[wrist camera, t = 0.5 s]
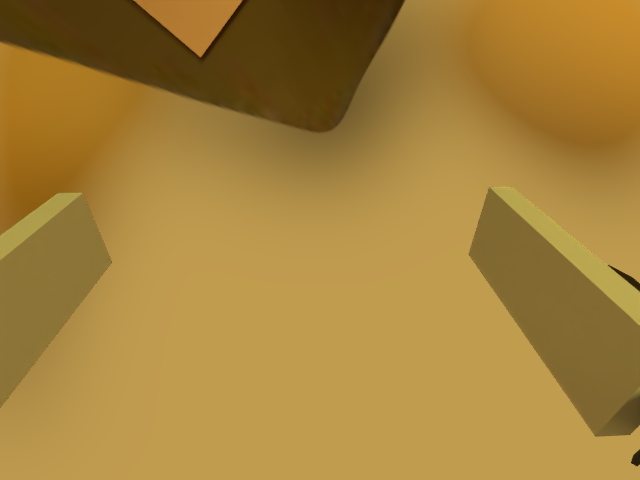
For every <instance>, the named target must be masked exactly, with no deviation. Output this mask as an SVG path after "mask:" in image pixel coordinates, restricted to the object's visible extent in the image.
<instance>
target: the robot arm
mask: <svg viewBox="0 0 640 480" xmlns="http://www.w3.org/2000/svg"><path fill="white" fill-rule="evenodd" d="M469 256H470V257H471V258H472V260H473V261H474V263H475V264H476V266H477V267H478V269H479V270H480V271H481V273H482V274H483V276H484V277H485V279H486V280H487V281H488V283H489V284H490V286H491V287H492V288H493V290H494V292H495V293H496V294H497V296H498V297H499V298H500V300H501V301H502V303H503V304H504V306H505V307H506V309H507V310H508V312H509V313H510V315H511V316H512V317H513V319H514V320H515V322H516V323H517V325H518V326H519V327H520V329H521V330H522V332H523V333H524V335H525V336H526V338H527V339H528V340H529V342H530V343H531V345H532V346H533V348H534V349H535V350H536V352H537V353H538V355H539V356H540V357H541V359H542V361H543V362H544V363H545V365H546V366H547V368H548V369H549V370H550V372H551V373H552V375H553V376H554V378H555V379H556V381H557V382H558V383H559V385H560V386H561V388H562V389H563V391H564V392H565V394H566V395H567V396H568V398H569V399H570V401H571V402H572V404H573V405H574V406H575V408H576V409H577V411H578V412H579V414H580V415H581V417H582V418H583V419H584V421H585V422H586V424H587V425H588V427H589V428H590V429H591V431H592V432H593V434H594V435H595V436H617V435H630V434H631V433H632V432H633V431H634V430H635V429H636V428H637V427H638V426H639V425H640V284H639V283H638V282H637V281H636V280H635V279H634V278H632V277H631V276H629V275H627V274H625V273H623V272H621V271H619V270H617V269H615V268H613V267H612V266H610V265H606V264H605V263H604V262H603V261H601V260H600V259H599V258H598V257H597V256H595V255H594V254H593V253H592V252H590V251H589V250H588V249H587V248H586V247H584V246H583V245H582V244H581V243H580V242H578V241H577V240H576V239H574V237H572V236H571V235H570V234H569V233H567V232H566V231H565V230H564V229H563V228H561V227H560V226H559V225H558V224H557V223H555V222H554V221H553V220H551V219H550V218H549V217H548V216H547V215H546V214H544V213H543V212H542V211H540V210H539V209H538V208H537V207H536V206H534V205H533V204H532V203H531V202H530V201H528V200H527V199H526V198H525V197H523V196H522V195H521V194H520V193H519V192H518V191H516V190H515V189H514V188H512V187H489V189H488V193H487V196H486V199H485V202H484V206H483V209H482V212H481V215H480V219H479V222H478V225H477V228H476V232H475V235H474V238H473V242H472V245H471V248H470V252H469ZM111 263H112V261H111V259H110V256H109V254H108V252H107V250H106V247H105V244H104V242H103V240H102V237H101V235H100V232H99V230H98V228H97V225H96V223H95V220H94V219H93V216H92V214H91V211H90V208H89V207H88V204H87V201H86V199H85V197H84V194H83V193H58V194H56V195H55V196H54V197H52V198H51V199H50V200H48V201H47V202H45V203H44V204H43V205H41V206H40V207H38V208H37V209H36V210H34V211H33V212H32V213H30V214H29V215H28V216H26V217H25V218H23V219H22V220H21V221H19V222H18V223H17V224H15V225H14V226H13V227H11V228H10V229H8V230H7V231H6V232H4V233H3V234H2V235H0V408H1V407H2V405H3V404H4V403H5V401H6V400H7V399H8V398H9V396H10V395H11V394H12V392H13V391H14V390H15V388H16V387H17V386H18V384H19V383H20V382H21V380H22V379H23V378H24V377H25V375H26V374H27V373H28V371H29V370H30V369H31V367H32V366H33V365H34V364H35V362H36V361H37V360H38V358H39V357H40V356H41V354H42V353H43V352H44V350H45V349H46V348H47V347H48V345H49V344H50V343H51V341H52V340H53V339H54V337H55V336H56V335H57V333H58V332H59V330H61V328H62V327H63V326H64V324H65V323H66V322H67V320H68V319H69V318H70V316H71V315H72V314H73V313H74V311H75V310H76V308H77V307H78V306H79V305H80V303H81V302H82V301H83V300H84V298H85V297H86V296H87V294H88V293H89V292H90V290H91V289H92V288H93V286H94V285H95V284H96V283H97V281H98V280H99V279H100V277H101V276H102V275H103V273H104V272H105V271H106V269H107V268H108V267H109V266H110V264H111ZM631 463H632V464H634V465H636V466H638V465H639V464H640V450H639V451H637V453H635V454H634V455H633V458H632V461H631Z"/></svg>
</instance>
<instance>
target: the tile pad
mask: <svg viewBox="0 0 640 480" xmlns="http://www.w3.org/2000/svg"><path fill="white" fill-rule="evenodd" d="M134 1H135V2H136V3H137V4H138V5H140V6H141V7H142V8H143V9H144V10H145V11H147V12H148V13H149V14H150V15H151V16H153V17H154V18H155V19H156V20H157V21H158V22H160V23H161V24H162V25H163V26H164V27H165V28H167V29H168V30H169V31H170V32H171V33H172V34H174V35H175V36H176V37H177V38H178V39H179V40H181V41H182V42H183V43H184V44H185V45H187V46H188V47H189V48H190V49H191V50H192V51H194V52H195V53H196V54H197V55H198V56H199V57H201V56H202V55H203V54H204V52H205V51H206V50H207V48H208V47H209V45H210V44H211V43H212V41H213V40H214V39H215V37H216V36H217V35H218V33H219V32H220V30H221V29H222V28H223V26H224V25H225V24H226V22H227V21H228V19H229V18H230V17H231V15H232V14H233V13H234V11H235V10H236V9H237V7H238V6H239V4H240V3H241V2H242V0H134Z"/></svg>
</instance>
